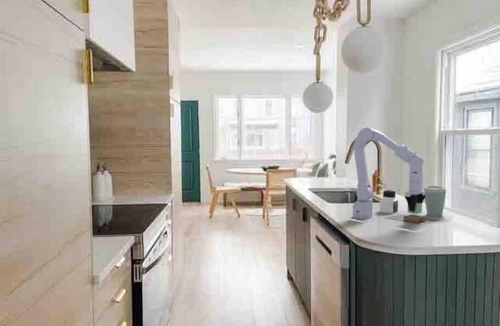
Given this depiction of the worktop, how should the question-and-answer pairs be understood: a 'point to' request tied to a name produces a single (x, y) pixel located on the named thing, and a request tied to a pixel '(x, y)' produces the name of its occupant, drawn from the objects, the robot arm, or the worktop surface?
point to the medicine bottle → (389, 202)
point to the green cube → (416, 208)
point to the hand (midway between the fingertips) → (414, 210)
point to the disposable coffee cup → (434, 200)
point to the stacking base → (401, 218)
